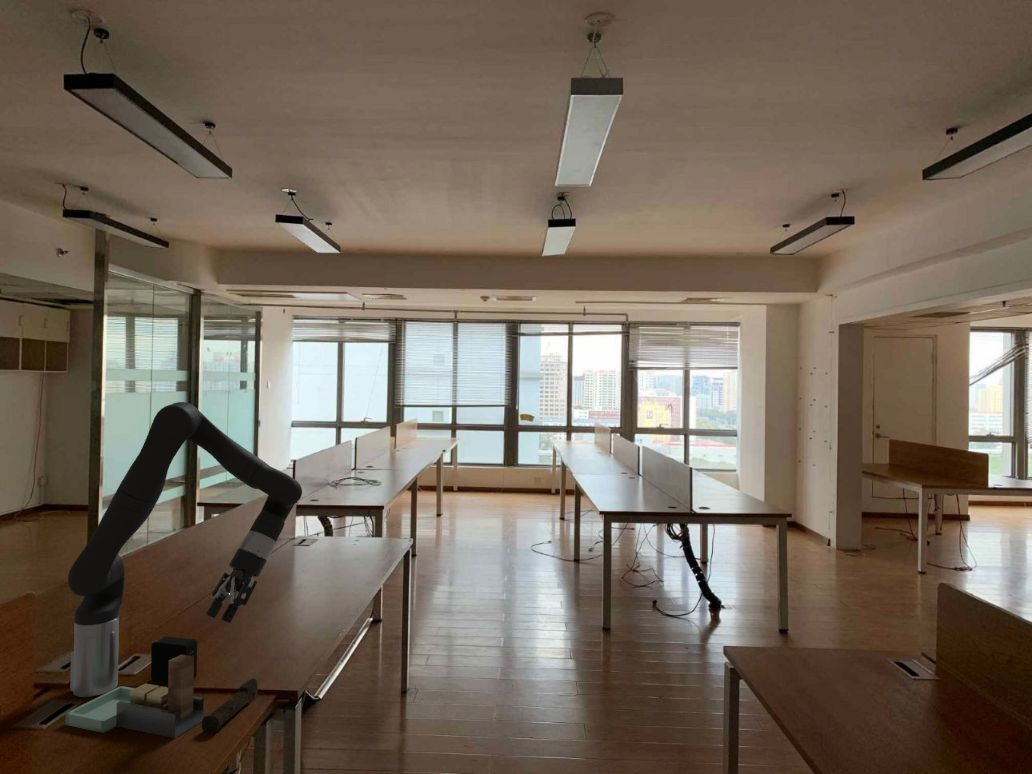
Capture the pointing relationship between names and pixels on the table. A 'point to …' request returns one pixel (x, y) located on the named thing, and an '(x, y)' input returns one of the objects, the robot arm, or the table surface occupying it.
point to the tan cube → (141, 694)
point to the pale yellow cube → (158, 698)
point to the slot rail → (158, 718)
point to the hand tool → (230, 707)
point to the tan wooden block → (180, 685)
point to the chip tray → (98, 711)
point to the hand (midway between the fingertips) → (217, 619)
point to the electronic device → (170, 655)
